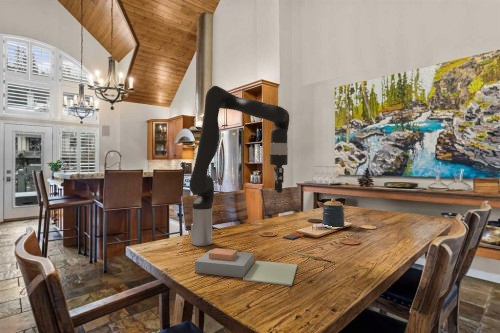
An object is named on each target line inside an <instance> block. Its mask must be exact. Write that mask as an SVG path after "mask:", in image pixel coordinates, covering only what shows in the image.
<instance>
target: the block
mask: <svg viewBox="0 0 500 333" xmlns="http://www.w3.org/2000/svg"><path fill="white" fill-rule="evenodd" d="M211 250H212V251H211V252H209V259H220V260H230V261H232V260H233V259H234V258H235V257H236V256H237V252H238V250H237V249H230V248H229V249H228V248H217V247H216V248H213V249H211Z"/></svg>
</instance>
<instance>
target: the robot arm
mask: <svg viewBox="0 0 500 333" xmlns="http://www.w3.org/2000/svg"><path fill="white" fill-rule="evenodd" d="M220 109H224V110H234V111H237V112H240V113H243V114H245V115H248V116H250V117H254V118H258V119H261V120H266V121H269V122H273V130H272V131H271V133H270V146H269V147H270V148H269V155H270V156H269V165H270V166H274V167H273V181H274V190H275V191H276V193H281V194H282V192H283V184H284V179H285V178H284V177H285V176H284V173H285V170H284V167H283V166H288V162H289V161H288V159H289V158H288V153H289V152H288V151H289V149H288V132H289V131H288V130H289V127H290V126H289V124H290V113H289V112H288V111H287V109H286V108H284V107H282V106H279V105H276V104H275V105H274V104H270V103H266V102H263V101H259V100H257V99H256V100H255V99H251V98H245V97H240V96H236V95H235V94H233V93H230V92H229V91H227V90H226V89H224V88H223V87H220V86H218V85H212V86H210V87H209V88H208V89H207V90H206V93H205V100H204V110H203V112H204V113H203V119H202V124H201V125H202V126H201V130H200V134H199V135H200V137H199V140H198V147H197V151H196V157H195V161H194V166H193V169H192V173H191V175H190V180H189V190H190V192H191V194H193V195H196V198H195V200H194V201H193V202H192V223H191V224H190V244H191V245H193V246H197V247H205V246H209V245H211V244H213V203H214V199H215V183H214V179H213V178H212V177H211V176H210V175H208V171H209V168H210V165H211V163H212V161H213V160H214V158H215V156H216V155H217V154H216V153H217V151H218V149H219V144H220V137H221V132H220V127H219V114H220Z"/></svg>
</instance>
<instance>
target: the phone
mask: <svg viewBox="0 0 500 333" xmlns="http://www.w3.org/2000/svg"><path fill="white" fill-rule="evenodd" d="M297 232H298V231H296V232H294V233H290V234H287V235H285V236H283V237H282V239H284V240H289V241H295V240H298V239H301V238H303V237H305V236H304V235H303V234H299V233H297Z"/></svg>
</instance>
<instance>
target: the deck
mask: <svg viewBox="0 0 500 333" xmlns="http://www.w3.org/2000/svg"><path fill="white" fill-rule="evenodd" d="M212 250H213V249H210V250H208V251H207V252H206V253H204V254H202V255H201V256H200V257H199V258H197V259H195V261H194V273H196V274H197V273H198V274H207V275H215V276H225V277H231V278H232V277H233V278H241V279H243V278H244V277H245V276H246V274H247V273H248V272H249V270H250V269H251V267H252V266H253V265H254V263H255V252H243V251H242V252H241V251H237V256H236V257H235V258H234V259H233V260H232V261H230V260H220V259H209V252H211V251H212Z"/></svg>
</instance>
